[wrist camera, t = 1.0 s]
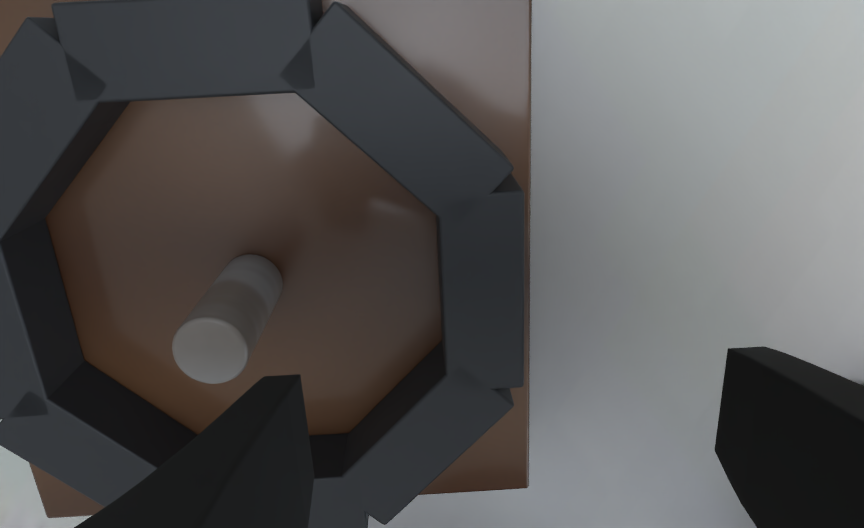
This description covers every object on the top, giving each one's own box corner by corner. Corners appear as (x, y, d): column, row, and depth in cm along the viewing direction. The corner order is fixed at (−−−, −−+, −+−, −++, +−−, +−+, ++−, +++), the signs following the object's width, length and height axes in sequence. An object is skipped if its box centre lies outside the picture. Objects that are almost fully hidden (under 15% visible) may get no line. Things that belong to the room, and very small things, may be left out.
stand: (516, 440, 22) (557, 596, 16) (85, 466, 22) (-40, 635, 16) (515, -31, 17) (575, -64, 11) (-53, -2, 17) (-320, -20, 11)
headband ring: (513, 476, 20) (523, 524, 18) (58, 505, 19) (21, 556, 18) (511, -16, 15) (525, -22, 13) (-99, 15, 14) (-174, 14, 13)
